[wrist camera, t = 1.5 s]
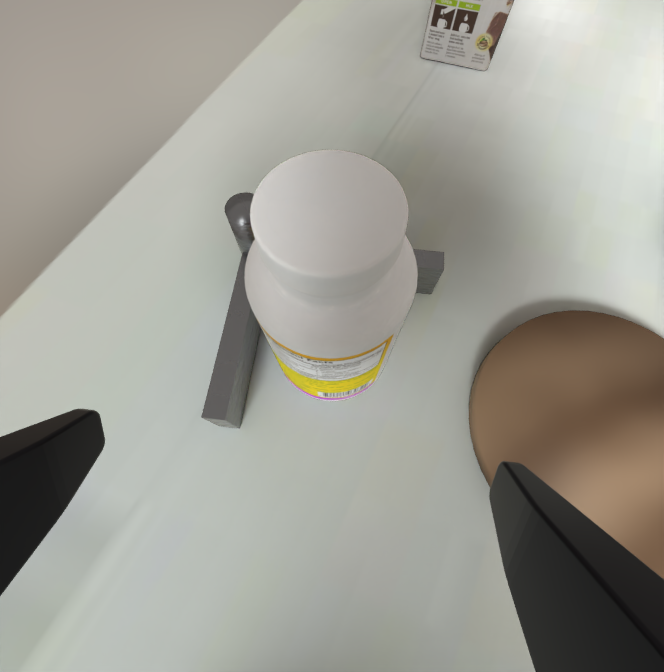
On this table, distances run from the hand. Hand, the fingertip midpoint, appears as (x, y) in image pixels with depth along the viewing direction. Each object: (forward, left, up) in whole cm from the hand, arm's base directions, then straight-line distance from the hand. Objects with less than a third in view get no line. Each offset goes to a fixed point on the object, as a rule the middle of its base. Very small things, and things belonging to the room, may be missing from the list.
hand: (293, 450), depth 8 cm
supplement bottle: (+5, -4, -13) cm, 15 cm away
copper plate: (-7, -14, -13) cm, 20 cm away
